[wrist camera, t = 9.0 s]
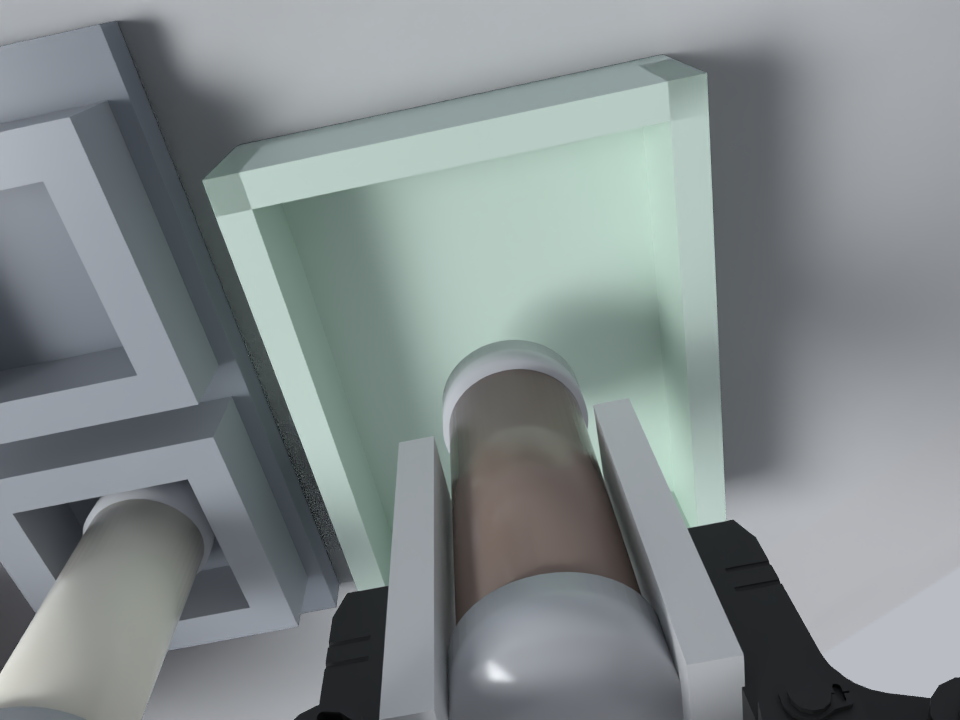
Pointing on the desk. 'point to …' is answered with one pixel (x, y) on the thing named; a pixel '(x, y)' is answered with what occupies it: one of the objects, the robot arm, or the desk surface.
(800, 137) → the desk surface
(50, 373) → the block
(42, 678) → the fuse
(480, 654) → the fuse
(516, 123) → the tray
